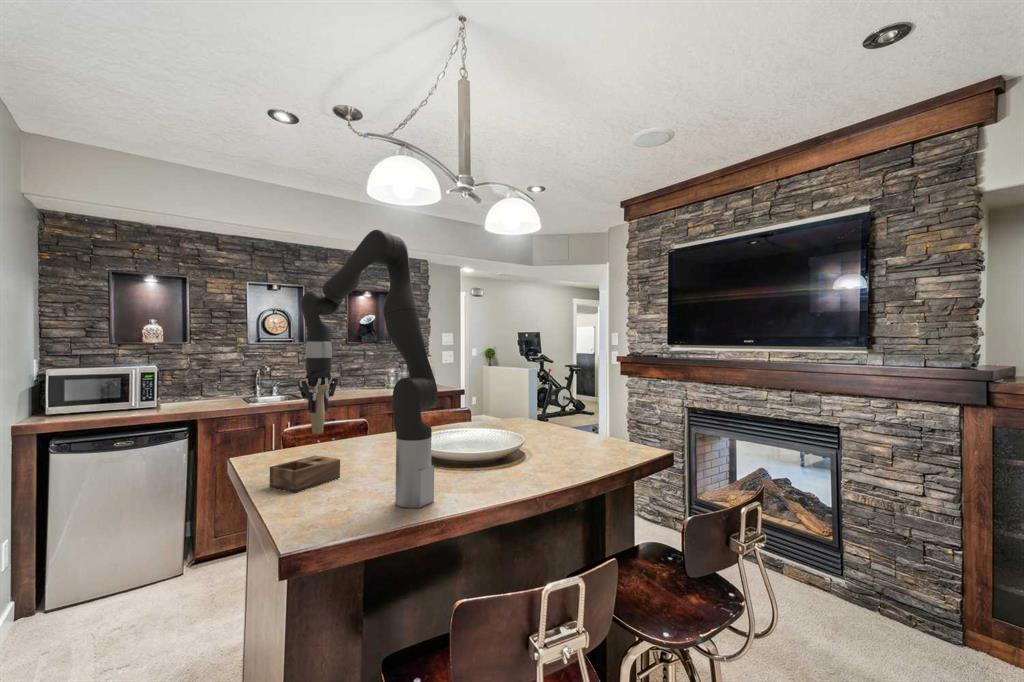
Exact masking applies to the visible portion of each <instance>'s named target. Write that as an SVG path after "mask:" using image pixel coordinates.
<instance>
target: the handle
mask: <svg viewBox="0 0 1024 682" xmlns="http://www.w3.org/2000/svg"><path fill="white" fill-rule="evenodd" d="M318 387H319V389H318V393H317V396H316V400H315V401H316V412H315V413H310V426H311V432H312V434H313V435H318V434H323V433H324V427H325V421H326V420H325V419H326V411H325V408H324V392H325V391H326V390H328V389H329V383H328V385H318ZM308 388H309V390H314V389H315V386H314V387H312V386H310V385H309V384H308ZM312 394H313V393H312Z"/></svg>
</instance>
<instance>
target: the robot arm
mask: <svg viewBox="0 0 1024 682" xmlns="http://www.w3.org/2000/svg"><path fill="white" fill-rule="evenodd" d="M373 264H379V265H381V266H382V265H383V266H386V268H387V271H388V272H387V273H388V276H389V289H388V292H387V295H386V298H385V300H384V304H383V310H382V313H383V319H384V323H385V328H386V333H387V335H388V337H389V339H390V341H391V342H392V344H393V345H394V346H395V348H396V349H397V351H398V352H399V354H400V355H401V357H402V358H403V359H404V362H405V365H406V368H407V370H408V375H409V377H403V378H400V379H399V380H397V381H396V383H395V384H394V387H393V391H392V399H391V400H392V418H393V419H392V423H393V426H394V431H395V499H394V501H395V502H394V503H395V505H396V506H398V507H400V508H410V509H411V508H416V509H417V508H418V509H420V508H423V507H425V506H426V505H430V504H431V503H433V502H434V501H435V466H434V465H432V437H433V436H432V434H433V433H432V431H433V430H432V426H431V425H429V424H427V423H425V422H423V421H422V411H427V410H430V409H432V408H433V407H435V405H436V404H437V401H438V396H439V392H438V386H437V383H436V378H435V375H434V372H433V369H432V365H431V363H430V360H429V357H428V353H427V350H426V345H425V340H424V337H423V332H422V326H421V320H420V317H419V312H418V311H419V310H418V308H417V304H416V300H415V294H414V288H413V283H412V278H411V269H410V259H409V251H408V246H407V243H406V241H405V239H404V238H403V237H402V236H401V235H398V234H396V233H392V232H390V231H389V232H388V231H386V230H383V229H373V230H371V231H370V232H369V233H367V235H365V237H363V239H362V240H361V241H360V243H359V244H358V246H357V247H356V249H355V250H354V251H353V253H351V255H350V256H349V258H348V259H347V260H346V261H345V263H344V264H343V266H342V267H341V268H340V269H339V270H338V271H337V272H335V273H334V274H333V275H332V276H331V277H330V278H329V279H328V280H327V281H325V283H324V284H323V286H322V292H317V291H307V292H305V293H304V294H303V295H302V298H301V301H300V306H301V307H300V308H301V312H302V315H303V318H304V323H305V327H306V345H305V368H304V369H305V372H306V375H305V378H304V379H302V380H301V379H300V380H297V385H298V388H299V392H300V395H301V398H302V399H305V400H307V405H308V406H307V410H308V412H309V413H310V414H311V413H315V412H316V401H315V400H316V396H317V393H318V389H319V387H318V385H328V384H329V389H328V390H326V391H325V392H324V408H325V412H326V411H327V410H328V407H329V405H328V404H329V398H330V397H333V396H335V392H336V388H337V385H338V382H339V379H338V378H335V377H332V375H331V372H332V369H333V367H332V365H333V361H332V359H333V355H332V354H333V347H332V326H331V324H329V323H327V322H324V321H322V320H321V318H320V317H321V316H330V315H334V314H335V313H336V312H337V311H338V310H339V308H340V306H341V304H342V303H343V301H344V299H346V297H348V296H349V295H350V294H351V293H352V292H354V291H355V290H356V288H357V287H358V286H359V284H360V281H361V277H362V272H363V271H364V270H365V269H366V268H367V267H369V266H370V265H373ZM308 385H310V386H312V387H314V386H315V389H314V390H309V388H308ZM312 393H313V394H312Z"/></svg>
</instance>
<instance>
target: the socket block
mask: <svg viewBox="0 0 1024 682" xmlns="http://www.w3.org/2000/svg"><path fill="white" fill-rule="evenodd" d="M338 478H341V458H340V459H339V458H334V457H328V456H322V455H312V456H308V457H304V458H299V459H297V460H296V459H295V460H292V461H288V462H284V463H280V464H276V465H273V466H269V487H270V489H274V488H275V489H274V490H278V489H280V490H279V491H283V490H285V492H288V491H289V492H288V493H292V492H293V494H297V493H300V492H299V491H301V492H303V491H302V490H304V491H306V490H305V489H307V488H310V489H312V488H311V487H313V488H315V487H314V486H316V487H318V486H317V485H319V486H321V485H320V484H322V485H324V484H323V483H325V484H327V483H326V482H328V483H330V482H329V481H331V482H333V481H332V480H334V481H336V480H335V479H337V480H339V479H338ZM307 490H308V489H307Z"/></svg>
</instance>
